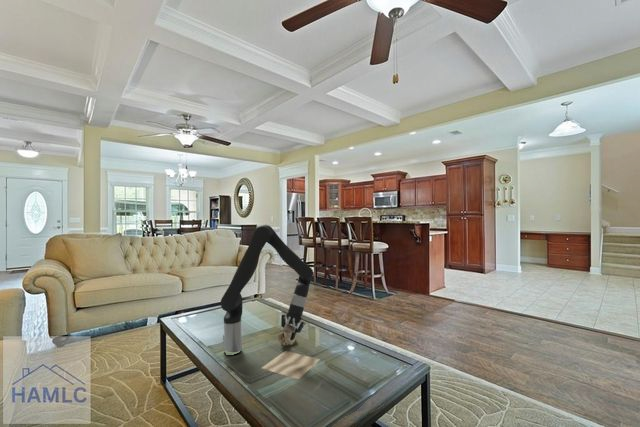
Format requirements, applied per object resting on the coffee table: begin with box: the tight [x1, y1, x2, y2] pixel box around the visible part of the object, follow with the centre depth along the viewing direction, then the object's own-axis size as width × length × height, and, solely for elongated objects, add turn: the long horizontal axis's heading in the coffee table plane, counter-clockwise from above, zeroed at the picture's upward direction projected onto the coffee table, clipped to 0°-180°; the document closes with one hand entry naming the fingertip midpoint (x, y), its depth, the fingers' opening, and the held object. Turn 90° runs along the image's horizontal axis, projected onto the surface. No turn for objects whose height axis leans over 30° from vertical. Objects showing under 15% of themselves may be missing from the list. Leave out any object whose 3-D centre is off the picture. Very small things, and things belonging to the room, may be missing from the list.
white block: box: [282, 324, 297, 346], centre depth 147 cm, size 4×4×9 cm
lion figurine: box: [277, 331, 297, 347], centre depth 167 cm, size 15×5×9 cm, turn 152°
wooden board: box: [261, 350, 321, 380], centre depth 144 cm, size 22×20×1 cm
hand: (287, 338), depth 145 cm, fingers closed on white block, 4 cm apart
